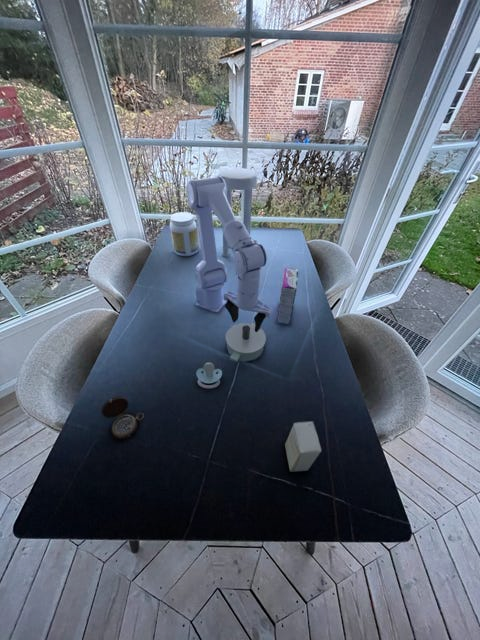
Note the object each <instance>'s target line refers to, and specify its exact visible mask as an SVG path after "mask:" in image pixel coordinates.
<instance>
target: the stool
mask: <svg viewBox="0 0 480 640" xmlns="http://www.w3.org/2000/svg"><path fill="white" fill-rule="evenodd" d="M217 176H221V177H222V178H223V179H224V181H225V183H226V188H227V201H228V203H229V205H230V207H231V209H233V205H232V204H233V203H232V201H233V199H232V198H233V197H232V195H233V191H234V190H235V191H243V218H242V219H243V220H242V222H243V224H244V225H245V227H246V229H247V231H248V232H249V234H250V235H251V227H252V226H251V225H252V206H253V189H254V188H256V187H257V184H258V172H256V171H255V170H253V169H249V168H242V167H232V168H231V167H230V168H225V169H221V170H220V171H219V172H218V174H217ZM223 230H224V226H223V225H222V231H223ZM229 250H230V246H229V244H228V242H227V240H226V239H225V237H224V235H223V234H222V256H223V257H229V254H230V253H229Z"/></svg>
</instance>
